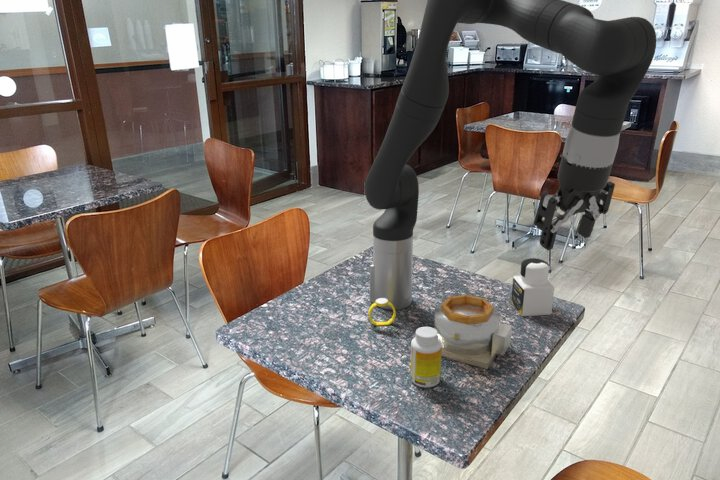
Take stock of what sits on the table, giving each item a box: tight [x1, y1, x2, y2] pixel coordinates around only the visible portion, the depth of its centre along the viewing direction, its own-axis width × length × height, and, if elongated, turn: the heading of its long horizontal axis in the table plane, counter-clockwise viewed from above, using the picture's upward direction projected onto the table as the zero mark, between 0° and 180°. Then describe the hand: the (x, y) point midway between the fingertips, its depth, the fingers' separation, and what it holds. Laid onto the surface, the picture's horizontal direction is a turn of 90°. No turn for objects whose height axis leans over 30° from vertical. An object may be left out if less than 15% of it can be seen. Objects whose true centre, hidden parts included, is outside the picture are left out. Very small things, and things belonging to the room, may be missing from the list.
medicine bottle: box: [510, 257, 555, 317], centre depth 126 cm, size 7×7×12 cm
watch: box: [368, 298, 397, 327], centre depth 122 cm, size 6×3×6 cm, turn 95°
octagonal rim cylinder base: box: [433, 294, 513, 370], centre depth 113 cm, size 16×14×9 cm
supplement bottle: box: [409, 326, 442, 389], centre depth 101 cm, size 6×6×10 cm
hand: (564, 241), depth 94 cm, fingers open, 8 cm apart
